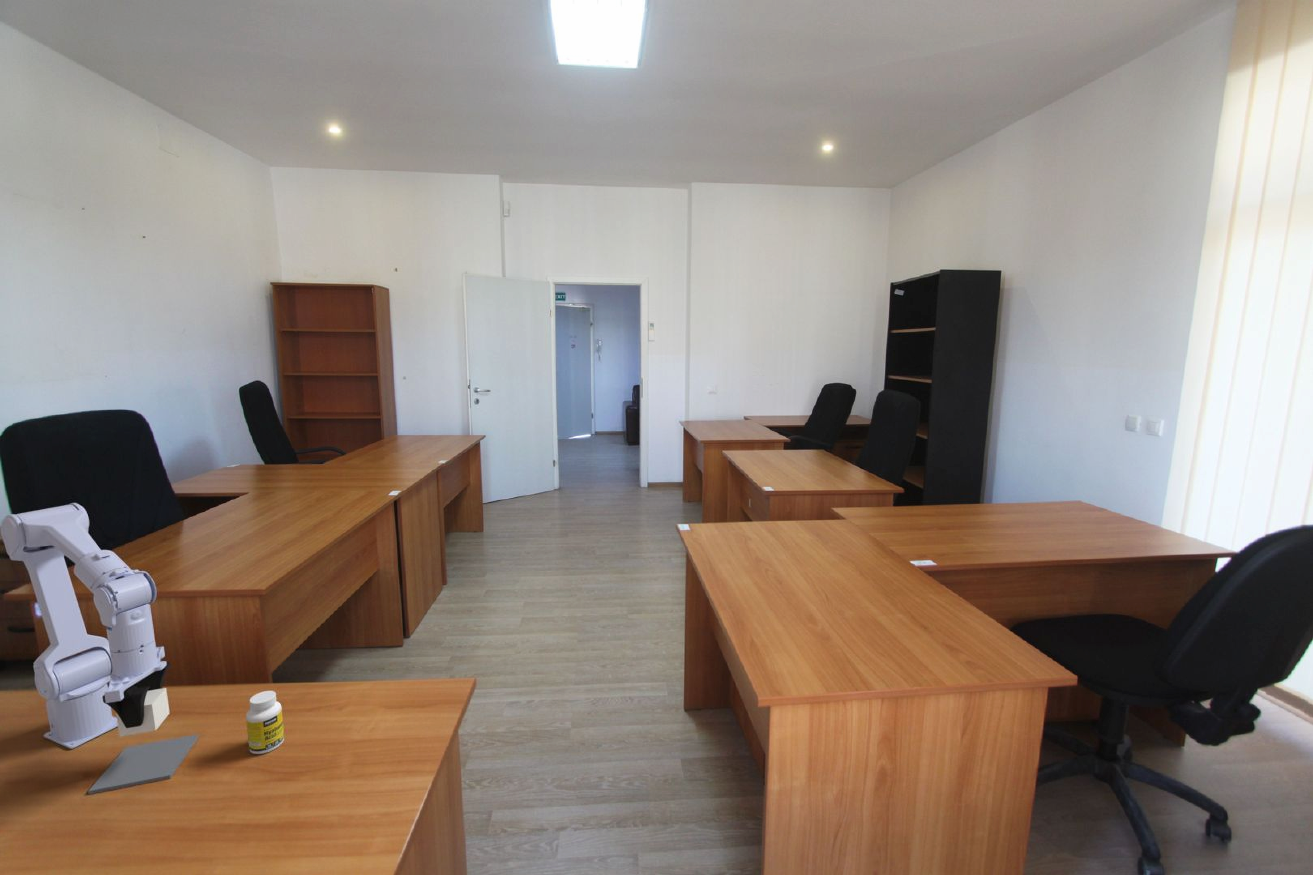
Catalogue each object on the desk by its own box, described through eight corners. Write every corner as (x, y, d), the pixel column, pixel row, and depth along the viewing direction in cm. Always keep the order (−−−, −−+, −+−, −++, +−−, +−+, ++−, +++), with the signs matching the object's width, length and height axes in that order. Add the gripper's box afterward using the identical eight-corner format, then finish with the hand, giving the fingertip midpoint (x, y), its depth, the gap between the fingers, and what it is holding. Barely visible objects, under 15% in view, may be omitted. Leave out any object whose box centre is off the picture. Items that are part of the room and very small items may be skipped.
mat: (88, 794, 92) (88, 791, 92) (126, 749, 102) (125, 746, 102) (170, 778, 96) (169, 775, 95) (198, 736, 106) (198, 734, 106)
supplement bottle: (266, 757, 101) (261, 707, 99) (242, 752, 102) (236, 703, 100) (291, 737, 106) (287, 689, 104) (268, 733, 107) (262, 686, 105)
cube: (119, 736, 95) (115, 710, 94) (135, 718, 100) (131, 693, 99) (155, 730, 97) (151, 704, 96) (169, 713, 101) (166, 687, 101)
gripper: (138, 661, 91) (149, 737, 93) (180, 621, 104) (189, 688, 106) (83, 669, 88) (95, 746, 90) (133, 627, 102) (143, 695, 104)
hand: (143, 715), depth 98 cm, fingers closed on cube, 5 cm apart
